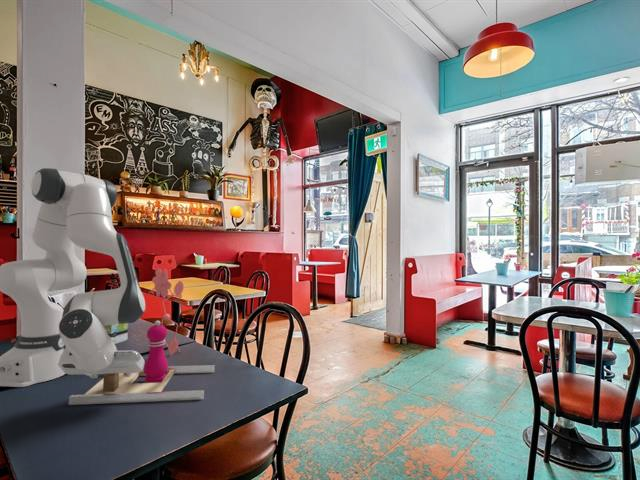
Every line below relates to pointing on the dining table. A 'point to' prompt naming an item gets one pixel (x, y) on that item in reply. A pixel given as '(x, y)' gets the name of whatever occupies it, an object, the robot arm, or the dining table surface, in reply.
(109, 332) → the tea box
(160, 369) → the pepper mill
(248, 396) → the dining table surface
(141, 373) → the beige piece
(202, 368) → the runner track
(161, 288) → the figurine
